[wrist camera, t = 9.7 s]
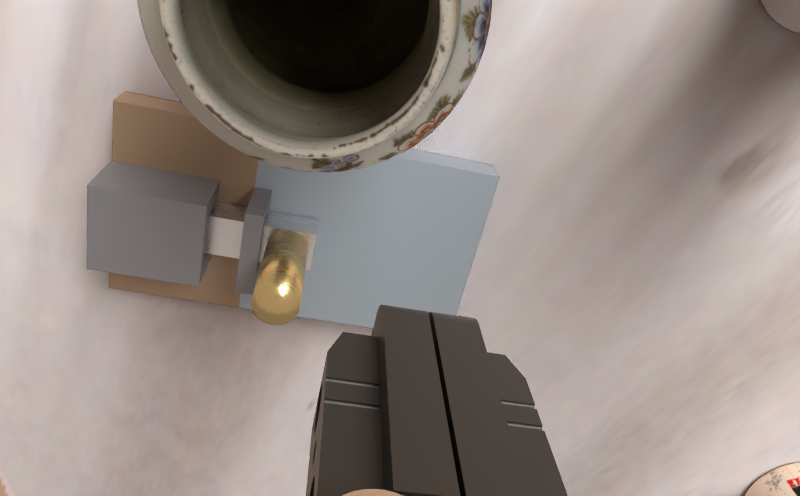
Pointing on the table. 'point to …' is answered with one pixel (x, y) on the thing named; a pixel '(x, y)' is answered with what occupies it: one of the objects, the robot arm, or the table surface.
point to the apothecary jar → (318, 72)
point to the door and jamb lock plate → (288, 194)
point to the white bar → (268, 257)
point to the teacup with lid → (778, 482)
